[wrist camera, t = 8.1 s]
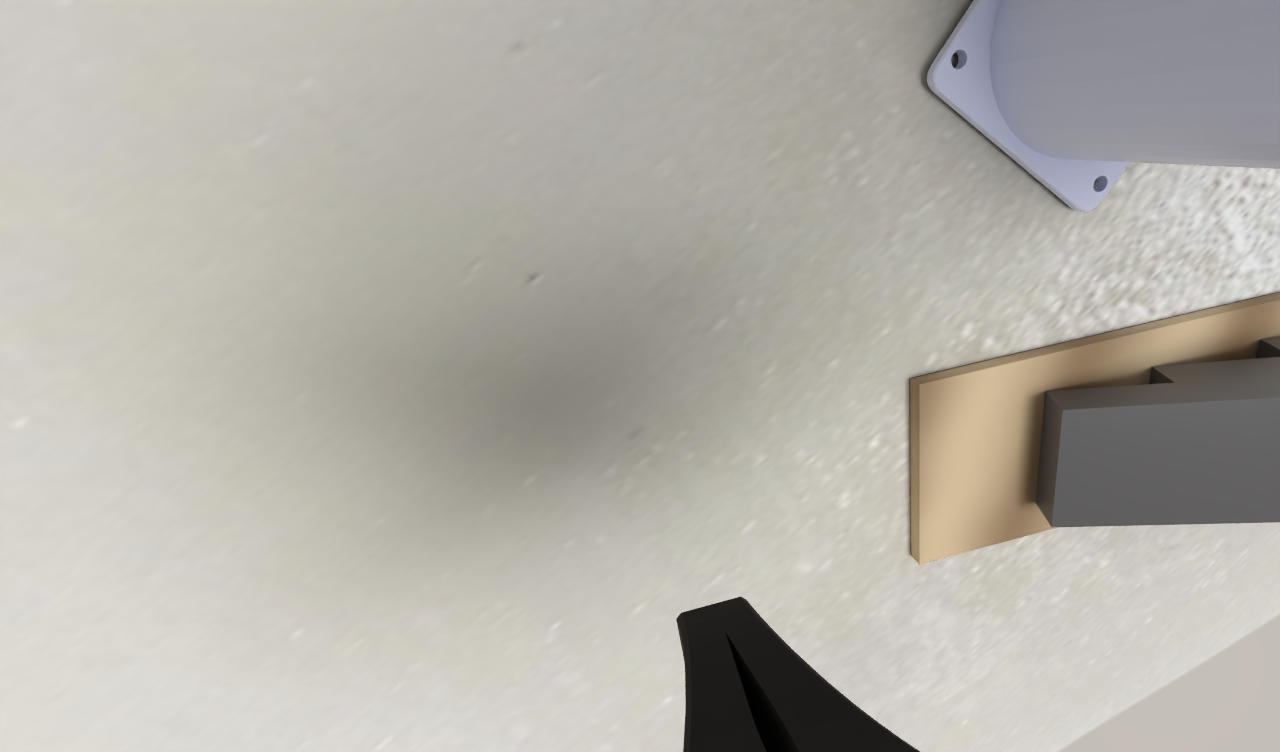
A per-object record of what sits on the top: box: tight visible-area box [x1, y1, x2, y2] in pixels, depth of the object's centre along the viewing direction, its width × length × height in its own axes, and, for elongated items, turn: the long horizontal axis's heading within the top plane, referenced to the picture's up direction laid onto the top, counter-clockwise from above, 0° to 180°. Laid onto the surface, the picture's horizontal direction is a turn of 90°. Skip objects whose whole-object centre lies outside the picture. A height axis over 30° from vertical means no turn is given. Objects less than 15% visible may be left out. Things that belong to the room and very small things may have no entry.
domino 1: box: [1149, 357, 1280, 384], centre depth 24 cm, size 2×5×8 cm
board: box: [910, 292, 1280, 564], centre depth 26 cm, size 26×8×1 cm, turn 99°
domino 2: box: [1036, 376, 1280, 527], centre depth 24 cm, size 2×5×8 cm
